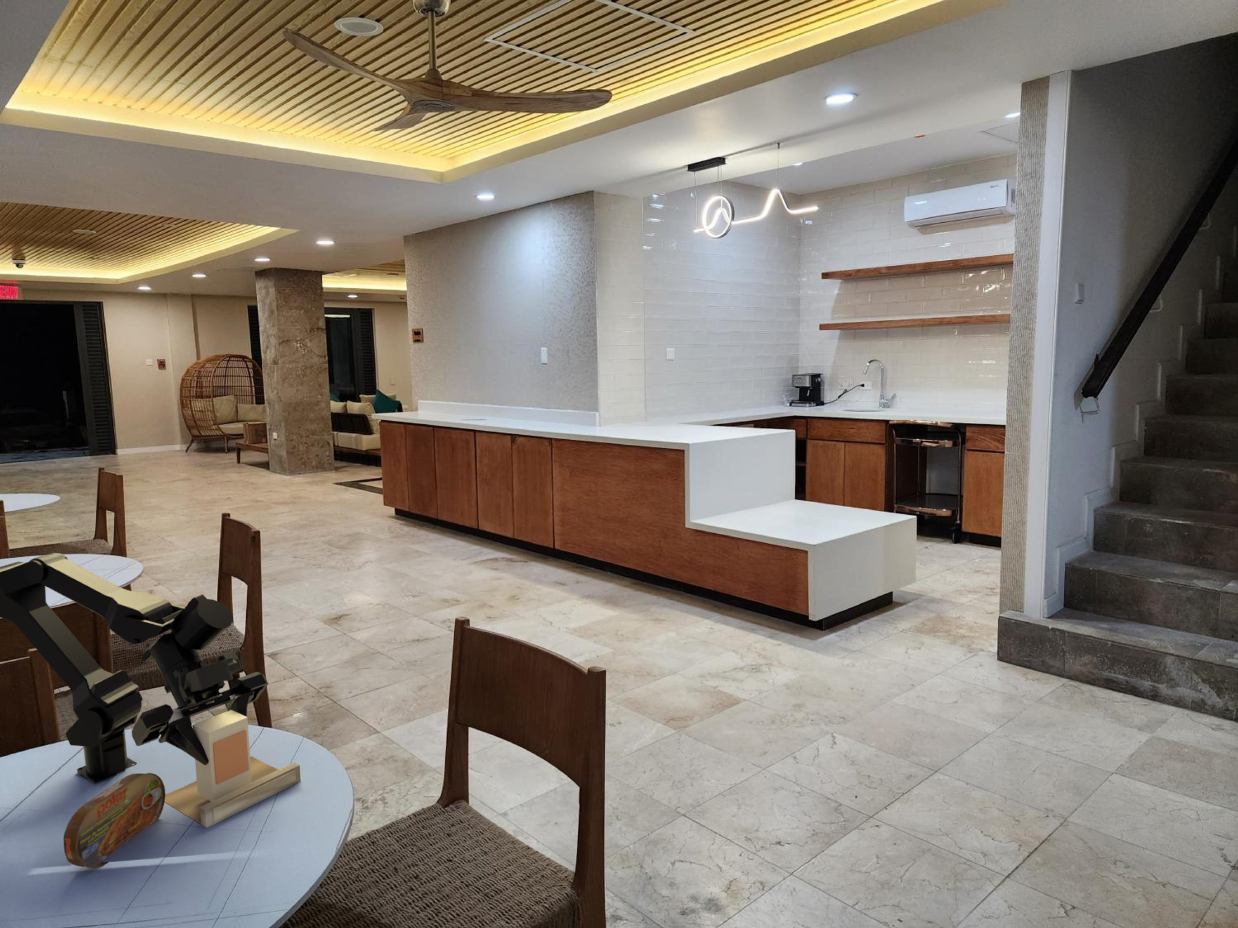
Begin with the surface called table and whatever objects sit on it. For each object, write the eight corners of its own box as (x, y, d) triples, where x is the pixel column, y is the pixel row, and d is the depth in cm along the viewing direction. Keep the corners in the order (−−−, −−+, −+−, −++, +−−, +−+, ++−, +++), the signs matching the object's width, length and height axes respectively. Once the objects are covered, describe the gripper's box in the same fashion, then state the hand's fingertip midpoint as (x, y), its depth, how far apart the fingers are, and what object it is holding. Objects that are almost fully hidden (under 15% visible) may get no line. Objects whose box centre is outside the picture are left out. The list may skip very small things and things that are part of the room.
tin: (82, 882, 103) (75, 821, 102) (61, 879, 103) (55, 818, 102) (169, 816, 117) (164, 762, 116) (151, 813, 118) (146, 760, 117)
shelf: (158, 801, 121) (157, 781, 121) (251, 759, 133) (250, 741, 133) (208, 832, 113) (206, 811, 113) (302, 784, 126) (300, 765, 125)
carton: (197, 793, 120) (192, 724, 118) (235, 776, 125) (231, 709, 123) (214, 803, 117) (209, 733, 116) (253, 785, 122) (248, 717, 121)
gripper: (134, 660, 112) (181, 756, 108) (257, 622, 128) (303, 705, 123) (112, 699, 118) (156, 792, 113) (233, 659, 133) (276, 739, 129)
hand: (227, 754), depth 120 cm, fingers closed on carton, 6 cm apart
